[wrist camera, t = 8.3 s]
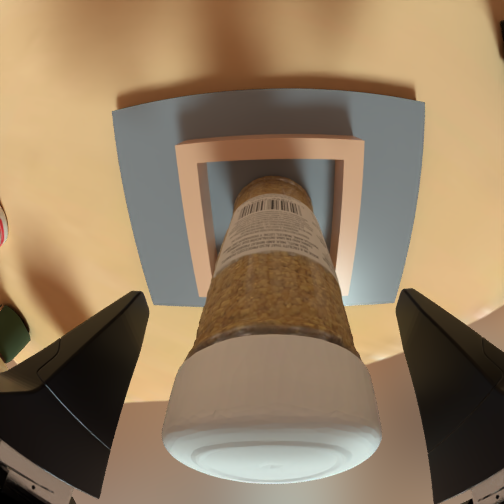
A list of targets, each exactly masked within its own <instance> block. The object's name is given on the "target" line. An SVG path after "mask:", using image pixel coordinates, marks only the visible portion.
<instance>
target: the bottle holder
mask: <svg viewBox="0 0 504 504" xmlns="http://www.w3.org/2000/svg"><path fill="white" fill-rule="evenodd" d="M112 116H113V125H114V133H115V140H116V147H117V154H118V160H119V166H120V172H121V178H122V183H123V188H124V193H125V198H126V203H127V208H128V212H129V217H130V221H131V225H132V230H133V234H134V238H135V242H136V246H137V250H138V253H139V257H140V261H141V264H142V268H143V272H144V275H145V278H146V282H147V285H148V288H149V292H150V295H151V298H152V301H153V304H154V305H166V306H190V307H204V305H205V303H206V298H207V293H208V290H209V287H210V284H211V279H212V276H213V273H214V270H215V265H216V261H217V258H218V255H219V252H220V249H221V246H222V243H223V240H224V237H225V234H226V232H227V230H228V228H229V225H230V222H231V219H232V216H233V210H234V203H235V200H236V198H237V196H238V195H239V193H240V192H241V190H242V189H243V188H244V187H246V186H247V185H248V184H249V183H251V182H252V181H253V180H256V179H258V178H262V177H265V176H281V177H285V178H289V179H291V180H293V181H295V182H296V183H297V184H299V185H300V186H301V187H302V188H303V189H304V190H305V191H306V193H307V194H308V196H309V197H310V199H311V202H312V206H313V214H314V215H315V217H316V219H317V221H318V223H319V226H320V229H321V231H322V234H323V237H324V240H325V243H326V246H327V249H328V251H329V254H330V257H331V260H332V263H333V266H334V269H335V272H336V275H337V278H338V281H339V285H340V288H341V293H342V301H343V304H344V306H351V305H369V304H385V303H394V302H395V298H396V295H397V292H398V288H399V284H400V281H401V277H402V273H403V269H404V265H405V261H406V257H407V252H408V248H409V243H410V238H411V233H412V228H413V223H414V217H415V211H416V205H417V199H418V192H419V184H420V176H421V166H422V155H423V142H424V121H425V102H420V101H415V100H410V99H404V98H398V97H392V96H386V95H379V94H371V93H362V92H353V91H341V90H326V89H252V90H236V91H224V92H214V93H206V94H198V95H190V96H184V97H177V98H171V99H165V100H160V101H155V102H150V103H145V104H140V105H136V106H132V107H127V108H123V109H119V110H115V111H112Z"/></svg>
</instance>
